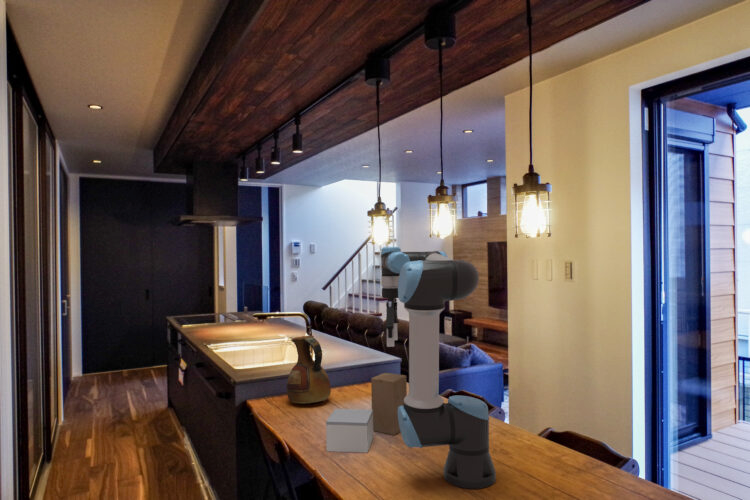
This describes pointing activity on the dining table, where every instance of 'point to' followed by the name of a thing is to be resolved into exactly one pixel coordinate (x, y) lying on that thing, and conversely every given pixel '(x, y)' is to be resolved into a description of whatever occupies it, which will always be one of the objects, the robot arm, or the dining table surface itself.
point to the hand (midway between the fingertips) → (392, 343)
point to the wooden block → (387, 401)
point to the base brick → (349, 430)
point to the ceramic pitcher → (308, 374)
